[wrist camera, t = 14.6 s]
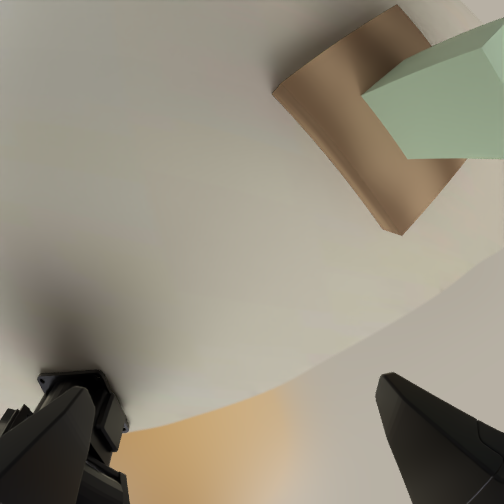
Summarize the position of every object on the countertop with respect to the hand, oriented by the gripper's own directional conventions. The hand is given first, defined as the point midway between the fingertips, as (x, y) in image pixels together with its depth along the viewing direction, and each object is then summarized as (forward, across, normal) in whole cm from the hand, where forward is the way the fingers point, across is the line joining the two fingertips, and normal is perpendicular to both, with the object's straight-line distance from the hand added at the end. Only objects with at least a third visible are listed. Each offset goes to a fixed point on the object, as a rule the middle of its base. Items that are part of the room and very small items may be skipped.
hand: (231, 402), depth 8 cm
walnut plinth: (+14, -11, -10) cm, 21 cm away
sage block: (+12, -12, -10) cm, 19 cm away
